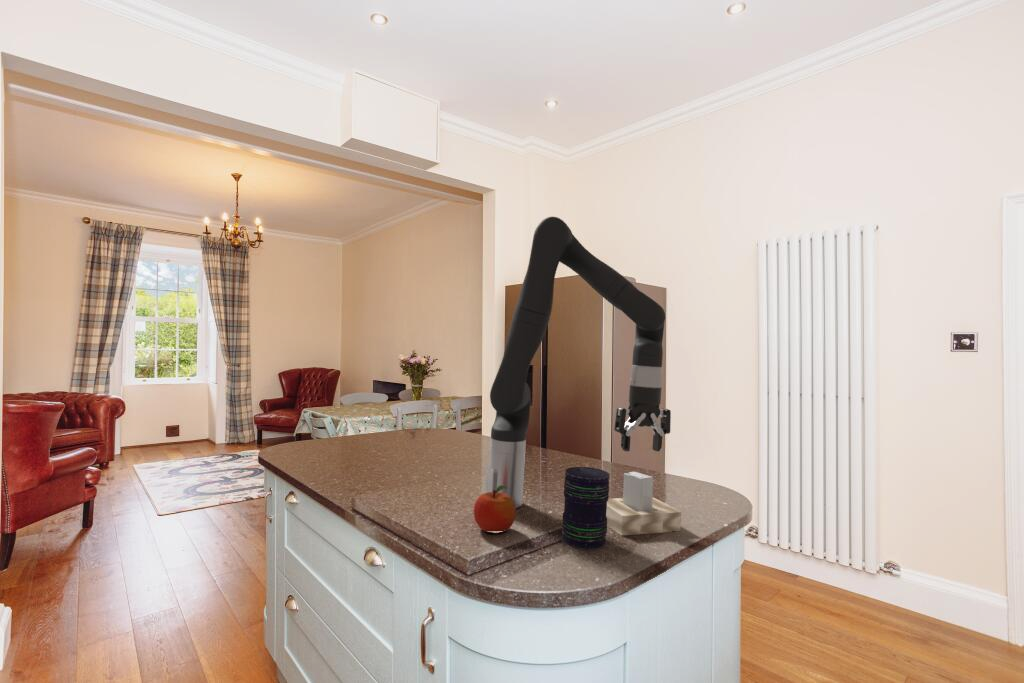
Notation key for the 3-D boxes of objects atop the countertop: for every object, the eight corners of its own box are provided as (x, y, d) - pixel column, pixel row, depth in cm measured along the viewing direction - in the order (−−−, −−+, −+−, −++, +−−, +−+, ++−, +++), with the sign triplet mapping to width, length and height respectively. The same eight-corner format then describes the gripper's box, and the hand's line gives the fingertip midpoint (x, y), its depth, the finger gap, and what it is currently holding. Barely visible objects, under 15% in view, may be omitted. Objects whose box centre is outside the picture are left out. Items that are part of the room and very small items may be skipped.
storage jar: (615, 544, 109) (619, 476, 109) (581, 553, 104) (585, 480, 104) (585, 529, 118) (588, 465, 118) (551, 536, 112) (555, 469, 112)
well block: (621, 535, 115) (622, 515, 115) (596, 517, 126) (597, 499, 126) (680, 531, 120) (681, 512, 120) (651, 513, 131) (652, 496, 131)
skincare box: (652, 526, 122) (655, 476, 122) (640, 530, 119) (643, 478, 119) (632, 518, 127) (635, 470, 127) (620, 521, 124) (623, 472, 124)
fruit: (466, 524, 116) (468, 481, 116) (504, 520, 120) (506, 479, 120) (481, 540, 107) (483, 494, 107) (521, 536, 111) (524, 490, 111)
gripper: (628, 385, 117) (623, 454, 117) (679, 387, 122) (675, 454, 122) (612, 382, 124) (607, 447, 124) (661, 384, 129) (657, 447, 129)
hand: (641, 450), depth 123 cm, fingers open, 8 cm apart
